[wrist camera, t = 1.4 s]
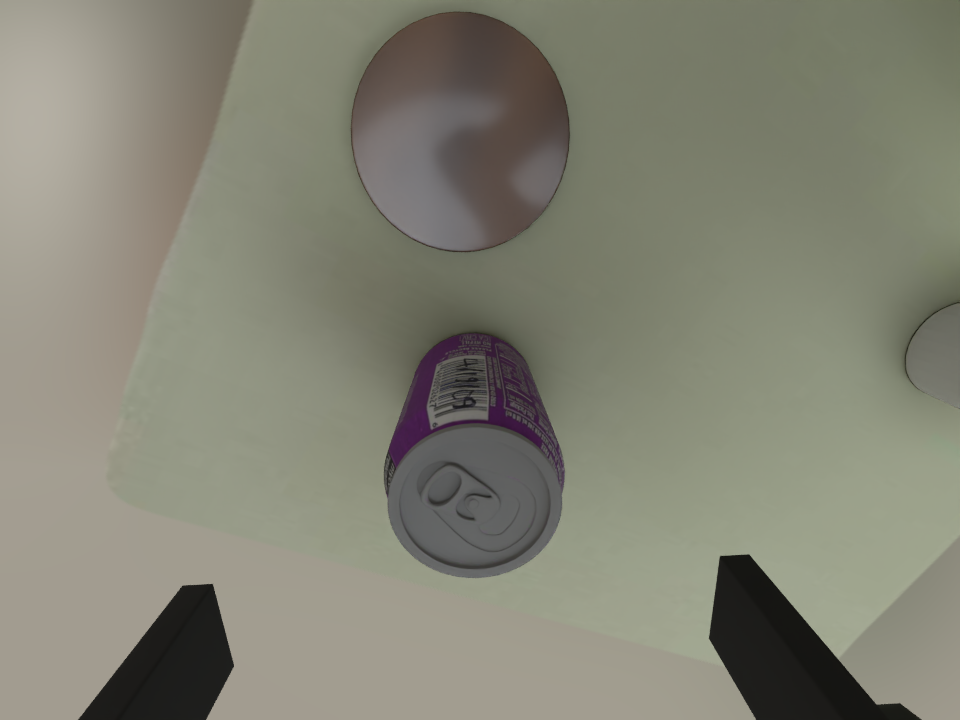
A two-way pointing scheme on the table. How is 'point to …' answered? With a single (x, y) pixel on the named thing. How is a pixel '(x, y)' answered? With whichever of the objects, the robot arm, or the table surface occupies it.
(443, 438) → the beverage can
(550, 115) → the coaster
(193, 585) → the robot arm
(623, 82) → the table surface
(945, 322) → the coffee cup
